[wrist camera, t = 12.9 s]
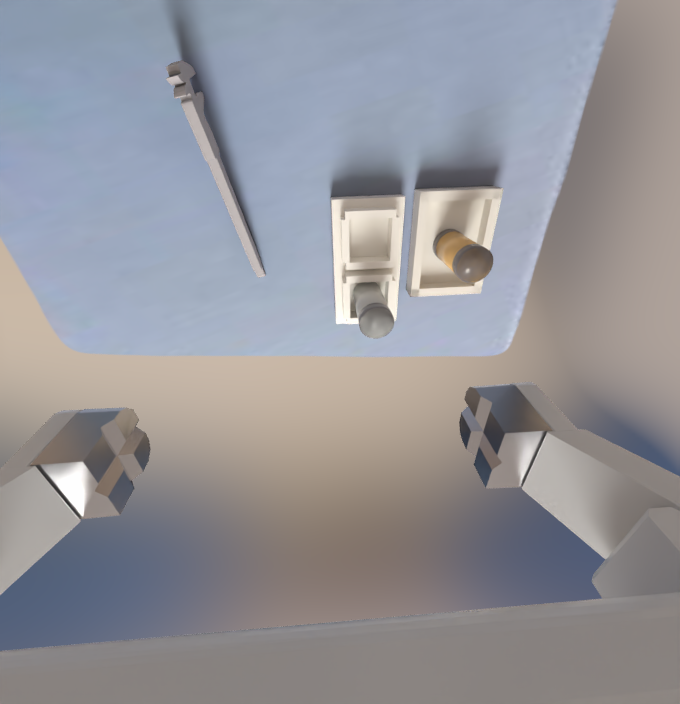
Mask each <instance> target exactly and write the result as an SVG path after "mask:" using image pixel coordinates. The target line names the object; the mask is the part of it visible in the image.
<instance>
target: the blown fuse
mask: <svg viewBox="0 0 680 704" xmlns="http://www.w3.org/2000/svg"><path fill="white" fill-rule="evenodd" d="M433 252H434V254H435V256H436V257H437V258H438V259H440V260H441V261H442V262H443V263H444V264H445V265H447V266H448V267H449V268H450V269H451V270H452V271H453V272H454V273H455V275H456V276H457V277H459V278H460V279H461V280H462V281H464V282H466V283H475V282H478V281H480V280H482V279H483V278H485V277H486V276H487V275H488V273H489V272H490V270H491V268H492V265H493V256H492V254H491V252H490V251H489V250H488V249H486V248H485V247H483V246H481V245H479V244H477V243H476V242H474V241H472V240H471V239H469V238H468V237H466V236H464V235H463V234H462V233H461V232H459V231H457V230H455V229H446V230H443V231H442V232H440V233H439V234H438V235H437V236H436V238H435V240H434V242H433Z"/></svg>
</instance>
